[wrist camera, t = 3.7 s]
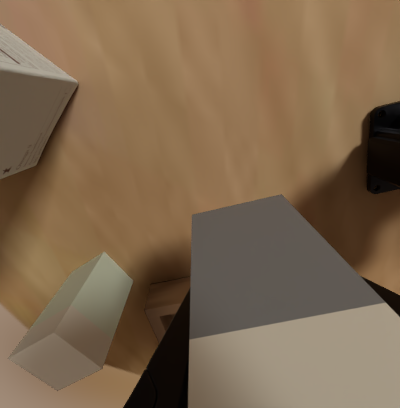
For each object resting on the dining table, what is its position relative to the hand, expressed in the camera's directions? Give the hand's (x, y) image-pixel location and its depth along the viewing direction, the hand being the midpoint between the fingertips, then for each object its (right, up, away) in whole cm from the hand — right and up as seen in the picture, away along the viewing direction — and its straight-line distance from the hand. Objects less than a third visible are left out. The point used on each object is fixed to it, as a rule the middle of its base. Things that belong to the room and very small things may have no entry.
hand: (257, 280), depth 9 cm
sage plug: (-11, -4, +13) cm, 18 cm away
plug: (0, +1, +2) cm, 3 cm away
